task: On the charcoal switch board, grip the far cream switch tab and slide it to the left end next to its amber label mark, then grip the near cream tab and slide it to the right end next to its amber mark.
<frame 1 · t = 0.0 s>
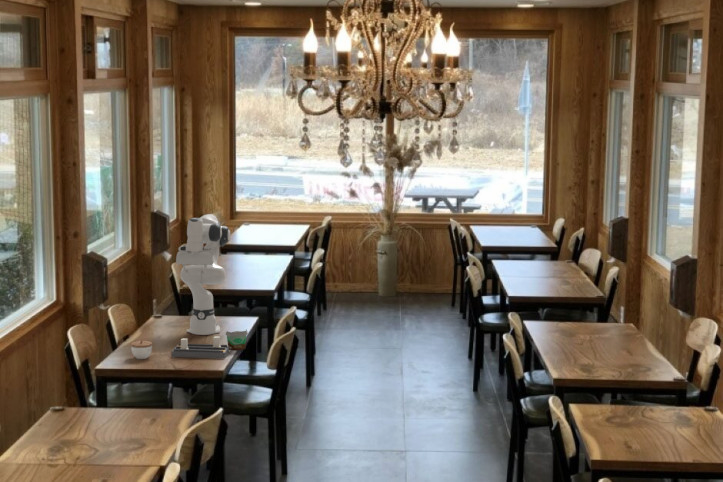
hand: (194, 273, 583), 39 cm above the table, tool pointing down, fingers open, 8 cm apart
tab b: (216, 342, 566), point 6 cm above the table, slide at 8.0 cm
switch board: (200, 354, 564), on the table
food container: (238, 349, 575), on the table
tab a: (184, 344, 560), point 6 cm above the table, slide at -8.0 cm
lidded jar: (141, 358, 556), on the table
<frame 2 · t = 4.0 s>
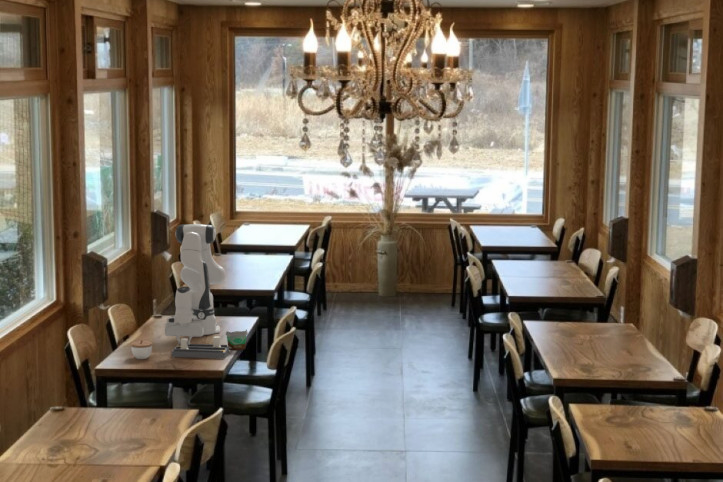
hand: (184, 344, 560), 6 cm above the table, tool pointing down, fingers closed on tab a, 3 cm apart
tab a: (184, 344, 560), point 6 cm above the table, slide at -8.0 cm, touching gripper
everything else where it was.
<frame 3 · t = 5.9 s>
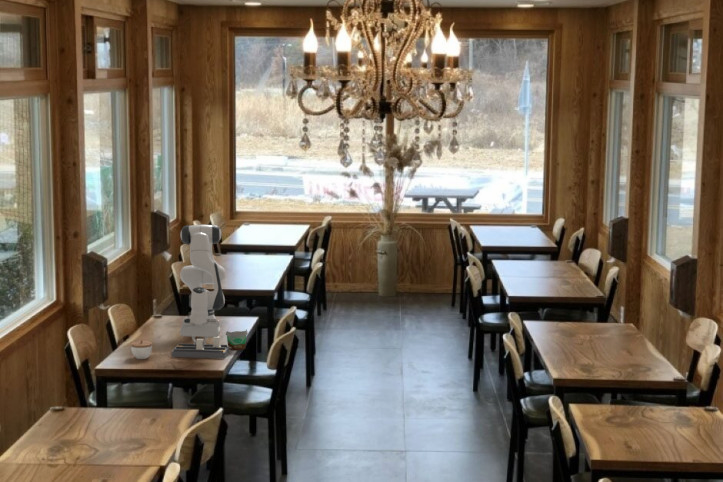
hand: (199, 344, 560), 6 cm above the table, tool pointing down, fingers closed on tab a, 3 cm apart
tab a: (199, 344, 560), point 6 cm above the table, slide at 0.2 cm, touching gripper
everything else where it was.
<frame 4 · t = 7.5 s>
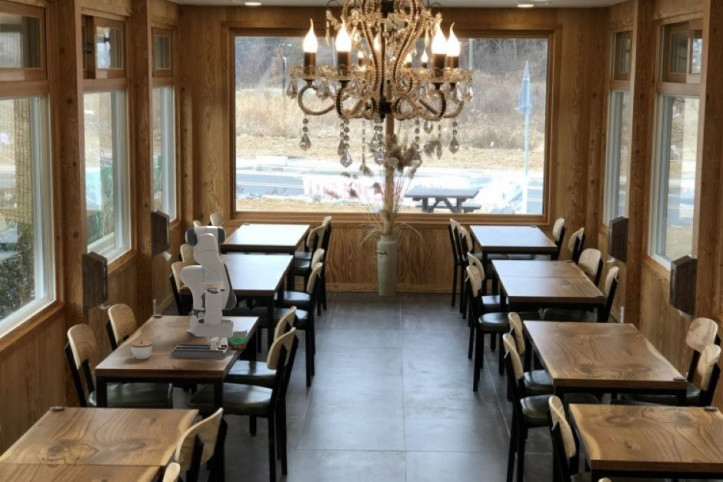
hand: (213, 345, 559), 6 cm above the table, tool pointing down, fingers closed on tab a, 3 cm apart
tab a: (213, 345, 559), point 6 cm above the table, slide at 7.6 cm, touching gripper
everything else where it was.
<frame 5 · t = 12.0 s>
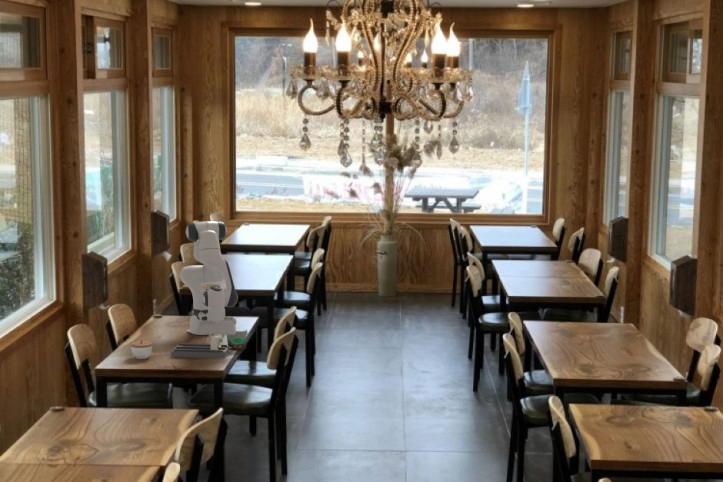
hand: (216, 342, 566), 6 cm above the table, tool pointing down, fingers closed on tab b, 3 cm apart
tab b: (216, 342, 566), point 6 cm above the table, slide at 8.0 cm, touching gripper
tab a: (213, 345, 559), point 6 cm above the table, slide at 7.6 cm
everything else where it was.
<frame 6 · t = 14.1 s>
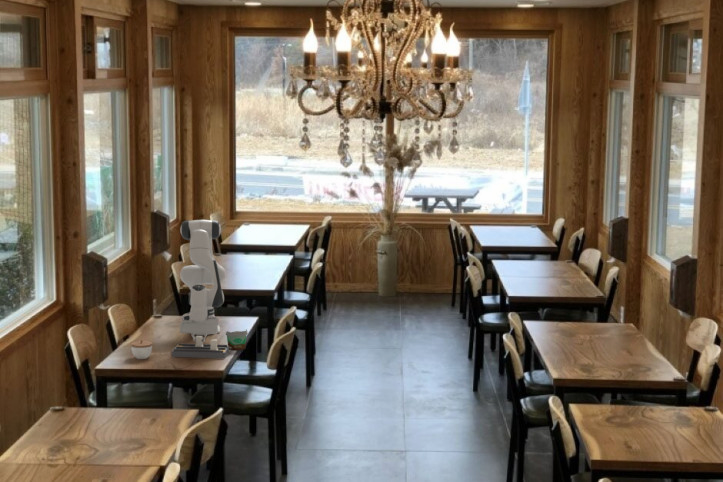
hand: (199, 341, 566), 6 cm above the table, tool pointing down, fingers closed on tab b, 3 cm apart
tab b: (199, 341, 566), point 6 cm above the table, slide at -1.4 cm, touching gripper
everything else where it was.
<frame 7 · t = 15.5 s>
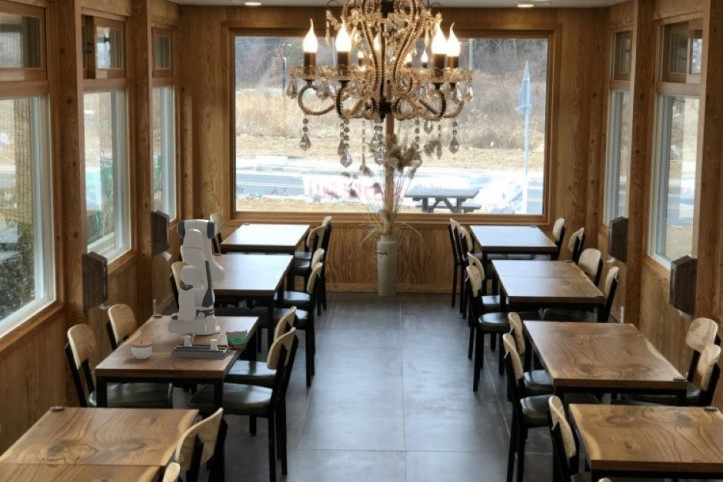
hand: (187, 341, 566), 6 cm above the table, tool pointing down, fingers closed on tab b, 3 cm apart
tab b: (187, 341, 566), point 6 cm above the table, slide at -7.6 cm, touching gripper
everything else where it was.
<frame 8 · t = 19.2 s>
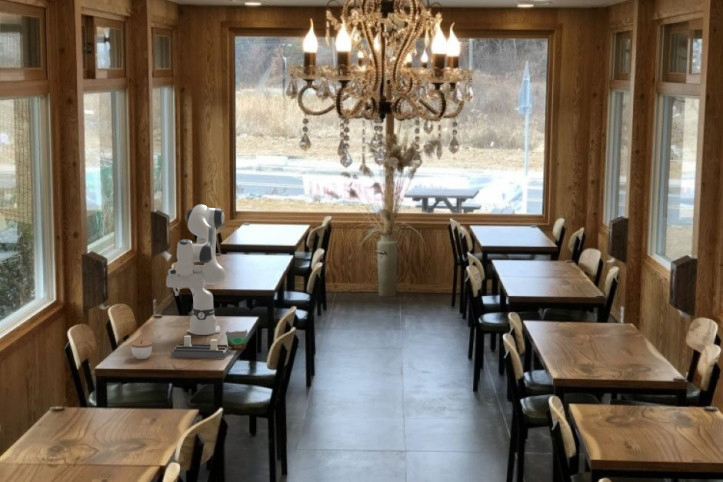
hand: (185, 295, 570), 29 cm above the table, tool pointing down, fingers open, 8 cm apart
tab b: (187, 341, 566), point 6 cm above the table, slide at -7.6 cm
everything else where it was.
at the end: tab a slide at 7.6 cm; tab b slide at -7.6 cm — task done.
